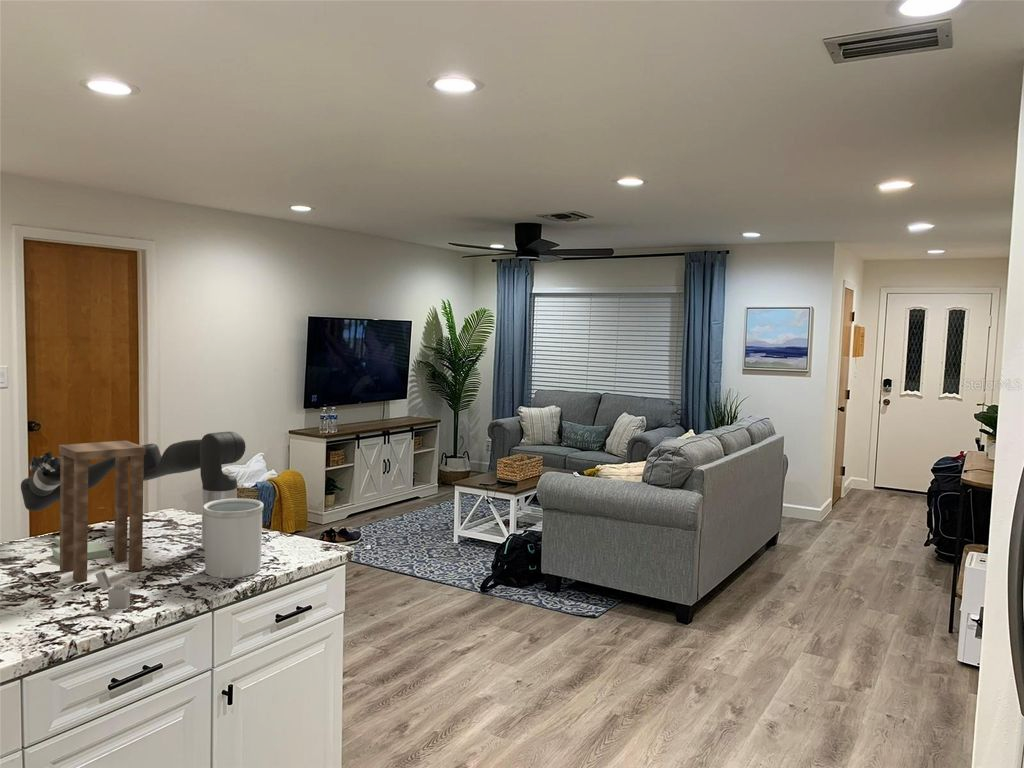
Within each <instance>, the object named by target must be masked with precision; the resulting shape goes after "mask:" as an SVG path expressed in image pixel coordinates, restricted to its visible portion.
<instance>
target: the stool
mask: <svg viewBox="0 0 1024 768" xmlns="http://www.w3.org/2000/svg"><path fill="white" fill-rule="evenodd" d="M145 453H146V447H144V446H142V445H140V444H137V443H134V442H132V441H129V440H116V441H115V440H114V441H113V440H112V441H111V440H110V441H100V442H87V443H86V442H83V443H70V444H58V454H60V455H59V457H60V500H59V536H60V561H59V571H61V573H66V572H67V573H68V572H72V581H73V582H75V583H81V582H82V583H83V582H86V581H88V560H87V549H88V543H89V541H88V538H89V537H88V534H89V533H88V532H89V531H88V529H89V526H88V525H89V523H88V522H89V521H88V520H89V519H88V518H89V517H88V516H89V489H88V466H89V463H88V460H98V459H101V460H103V459H106V458H114V457H115V468H114V474H115V475H114V535H113V536H114V541H113V542H114V545H113V546H114V547H113V548H114V549H113V550H114V551H113V553H114V554H113V561H114V562H116V563H122V562H123V563H124V562H128V570H129V571H130V572H132V573H133V572H139V571H143V547H144V546H143V541H144V540H143V539H144V538H143V536H144V535H143V532H144V531H143V527H144V526H143V525H144V519H143V518H144V481H143V475H144V455H145ZM128 456H130V462H129V461H128ZM128 513H129V514H128ZM128 515H129V517H128ZM128 518H129V519H128ZM128 522H129V523H128ZM128 524H129V525H128ZM128 526H129V528H128ZM128 532H129V534H128Z"/></svg>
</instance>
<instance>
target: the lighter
mask: <svg viewBox="0 0 1024 768" xmlns="http://www.w3.org/2000/svg"><path fill="white" fill-rule="evenodd" d="M95 577H96V580H97V582H98V584H99V586H100V588H101V591H102V592H105V591H107V590H108V592H107V593H108V596H107V599H108V601H107V602H108V603H107V605H108V607H107V608H108V609H118V610H119V609H121V610H126V609H128V608H130V607H131V600H130V599H131V588H130V587H126V585H125V584H124V583H118V582H117V583H115V584H114V585H112V582H111V581H110V579H109V577H108V574H107V573H106V570H102V571H99V572H98V573H96V574H95Z"/></svg>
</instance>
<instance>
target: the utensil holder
mask: <svg viewBox="0 0 1024 768" xmlns="http://www.w3.org/2000/svg"><path fill="white" fill-rule="evenodd" d="M264 505H265V504H264V503H263V502H262V501H261V500H258V499H253V498H234V499H222V500H216V501H211V502H208V503H206V504H205V505H204V506H203V512H204V549H205V550H204V570H205V572H204V573H205V574H206V575H207V574H208V576H209V575H210V577H212V576H213V577H212V578H216V577H218V579H237V578H239V579H240V578H242V577H248V576H251V575H255V574H256V573H258V572H259V571H261V566H262V564H261V563H262V540H263V539H262V537H263V536H262V535H263V533H262V532H263V511H264V507H265V506H264Z"/></svg>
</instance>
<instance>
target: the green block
mask: <svg viewBox="0 0 1024 768" xmlns="http://www.w3.org/2000/svg"><path fill="white" fill-rule="evenodd" d="M54 545H56V546H57V547H53V548H52V557H54V558H55V559H57V560H58V561H59V562H60V535H59V536H57V535H56V536H54ZM109 556H110V549H109V548H108V547H106V546H104V545H103V544H102V543H100V542H99V541H91V542H88V549H87V561H88V560H93V558H94V559H100V558H104V557H109Z"/></svg>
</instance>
